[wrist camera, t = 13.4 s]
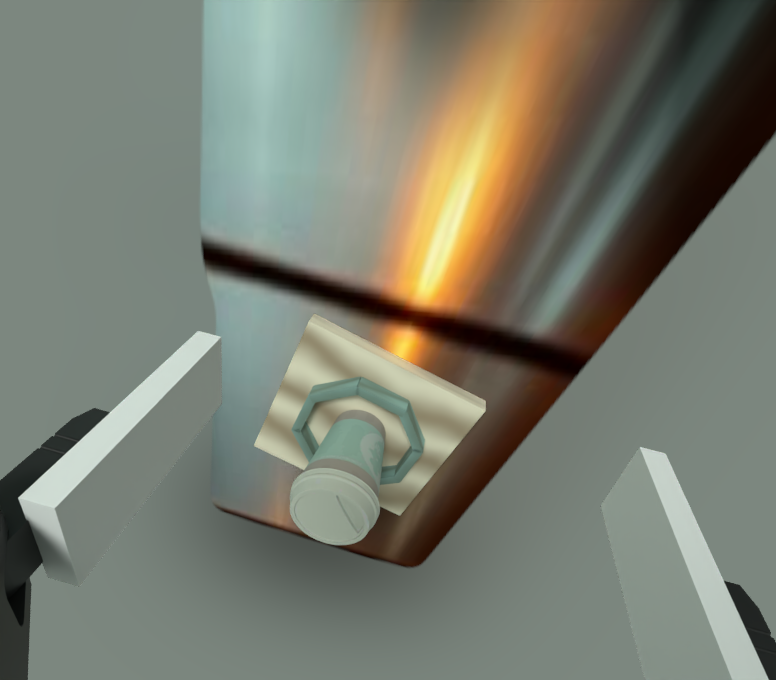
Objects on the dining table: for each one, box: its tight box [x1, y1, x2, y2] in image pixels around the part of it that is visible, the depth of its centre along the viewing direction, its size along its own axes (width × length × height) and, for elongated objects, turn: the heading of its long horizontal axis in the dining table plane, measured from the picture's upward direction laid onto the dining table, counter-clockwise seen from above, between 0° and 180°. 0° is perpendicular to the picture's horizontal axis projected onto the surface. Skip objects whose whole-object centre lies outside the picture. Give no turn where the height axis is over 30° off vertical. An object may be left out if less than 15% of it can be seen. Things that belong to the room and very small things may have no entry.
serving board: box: [254, 314, 486, 516], centre depth 52 cm, size 20×20×3 cm
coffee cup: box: [290, 410, 386, 545], centre depth 47 cm, size 8×9×12 cm
